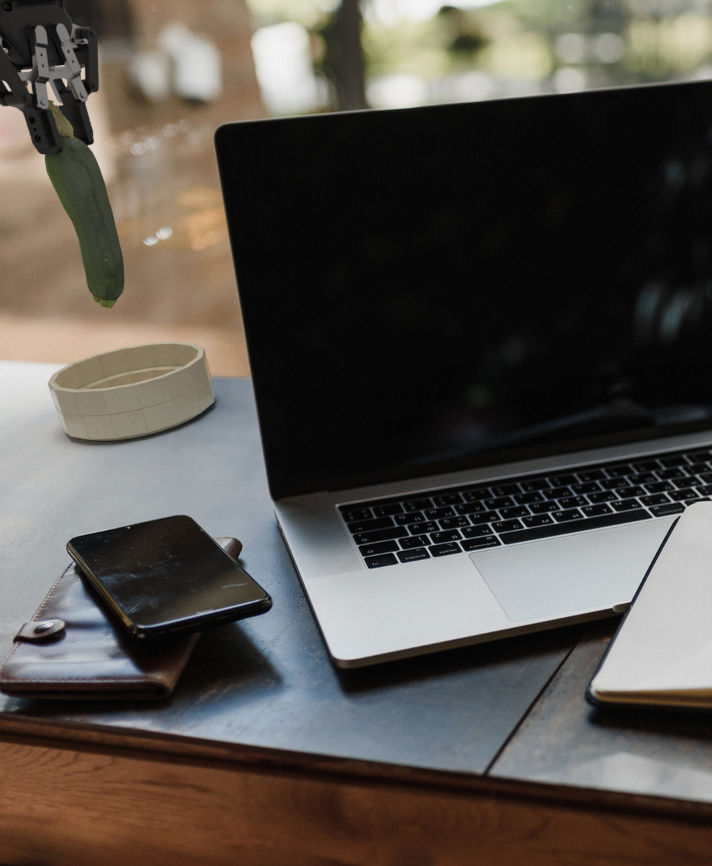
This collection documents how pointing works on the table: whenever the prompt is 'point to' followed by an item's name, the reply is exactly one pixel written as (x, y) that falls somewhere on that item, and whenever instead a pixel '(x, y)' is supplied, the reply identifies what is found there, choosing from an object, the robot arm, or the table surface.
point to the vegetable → (87, 212)
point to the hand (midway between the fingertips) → (66, 148)
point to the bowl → (132, 391)
